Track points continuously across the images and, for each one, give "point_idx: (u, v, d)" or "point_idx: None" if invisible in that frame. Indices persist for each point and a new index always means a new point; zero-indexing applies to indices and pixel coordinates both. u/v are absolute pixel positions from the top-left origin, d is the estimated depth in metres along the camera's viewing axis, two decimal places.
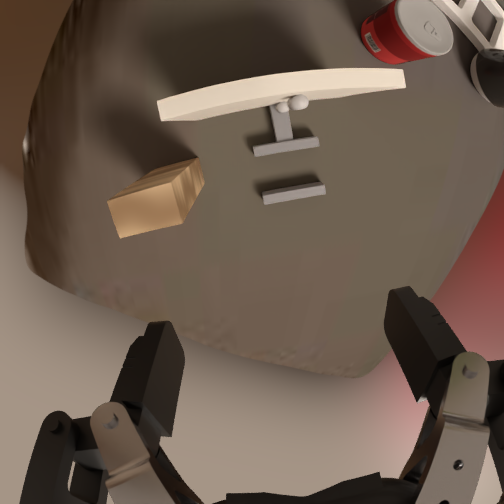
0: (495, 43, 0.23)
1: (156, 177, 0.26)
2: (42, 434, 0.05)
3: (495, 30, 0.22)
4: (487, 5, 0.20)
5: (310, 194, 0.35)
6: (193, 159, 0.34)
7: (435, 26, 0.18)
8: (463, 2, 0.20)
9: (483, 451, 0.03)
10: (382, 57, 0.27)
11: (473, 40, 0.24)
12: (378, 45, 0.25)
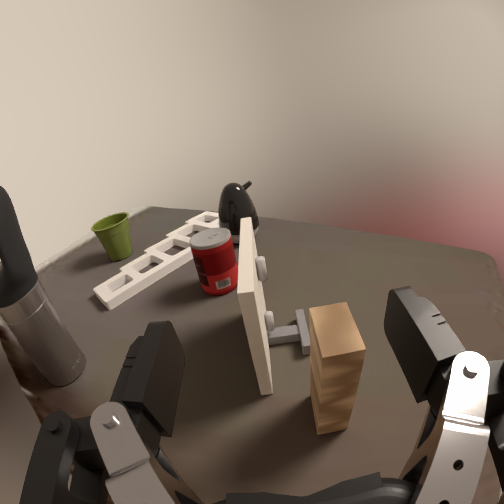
0: None
1: (315, 369, 0.25)
2: (42, 434, 0.05)
3: None
4: (185, 234, 0.83)
5: None
6: None
7: (211, 234, 0.54)
8: (186, 244, 0.74)
9: (483, 451, 0.03)
10: (234, 280, 0.55)
11: None
12: (225, 276, 0.53)
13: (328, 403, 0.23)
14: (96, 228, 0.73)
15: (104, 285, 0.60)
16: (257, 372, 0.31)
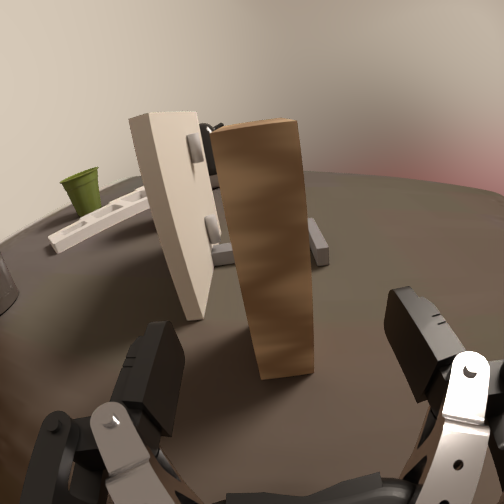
0: None
1: None
2: (42, 434, 0.05)
3: None
4: None
5: (314, 224, 0.33)
6: None
7: None
8: None
9: (483, 451, 0.03)
10: None
11: None
12: None
13: (257, 285, 0.14)
14: None
15: (59, 232, 0.50)
16: (172, 270, 0.22)
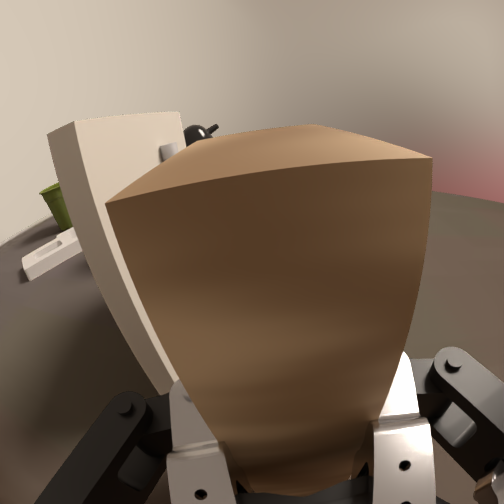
0: None
1: None
2: (108, 411, 0.06)
3: None
4: None
5: None
6: None
7: None
8: None
9: (429, 443, 0.04)
10: None
11: None
12: None
13: (267, 467, 0.06)
14: None
15: (33, 253, 0.42)
16: (138, 356, 0.14)
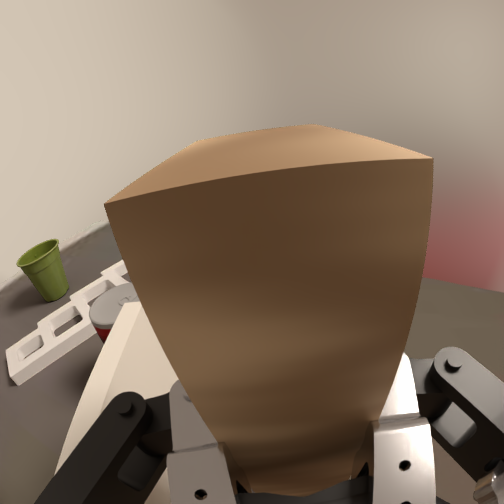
0: None
1: None
2: (108, 411, 0.06)
3: None
4: (126, 270, 0.58)
5: None
6: None
7: (124, 296, 0.30)
8: None
9: (429, 443, 0.04)
10: None
11: None
12: None
13: (267, 467, 0.06)
14: (25, 260, 0.49)
15: (16, 347, 0.35)
16: None
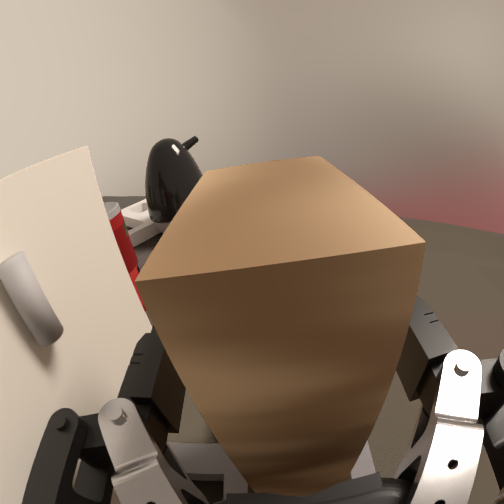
0: (141, 222, 0.48)
1: None
2: (48, 431, 0.05)
3: (131, 225, 0.52)
4: None
5: None
6: None
7: None
8: None
9: (477, 450, 0.03)
10: None
11: (134, 240, 0.43)
12: None
13: (270, 474, 0.07)
14: None
15: None
16: None
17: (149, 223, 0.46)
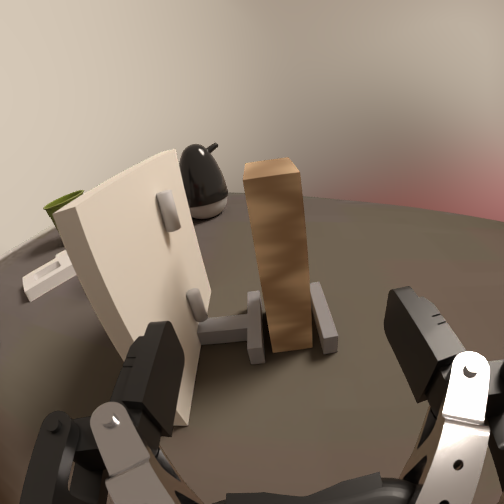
0: None
1: None
2: (42, 434, 0.05)
3: None
4: None
5: (320, 293, 0.27)
6: None
7: None
8: None
9: (483, 451, 0.03)
10: None
11: None
12: None
13: (272, 279, 0.20)
14: None
15: (33, 273, 0.43)
16: None
17: None
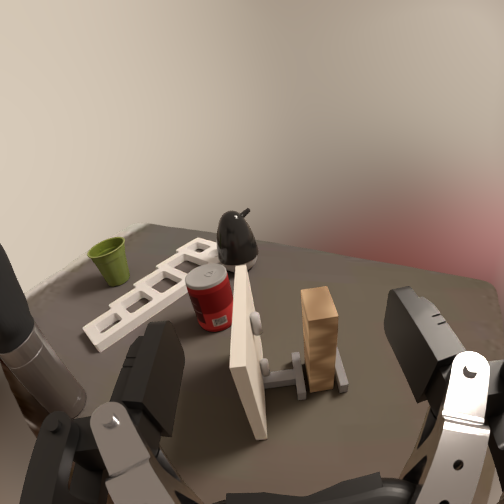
0: (205, 261, 0.75)
1: (305, 336, 0.36)
2: (42, 434, 0.05)
3: (194, 261, 0.79)
4: (175, 264, 0.79)
5: (337, 354, 0.41)
6: None
7: (207, 271, 0.53)
8: (176, 278, 0.70)
9: (483, 451, 0.03)
10: (231, 317, 0.53)
11: None
12: (221, 314, 0.52)
13: (316, 360, 0.34)
14: (92, 253, 0.72)
15: (93, 324, 0.56)
16: (251, 424, 0.30)
17: (213, 263, 0.73)
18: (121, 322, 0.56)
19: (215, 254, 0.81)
